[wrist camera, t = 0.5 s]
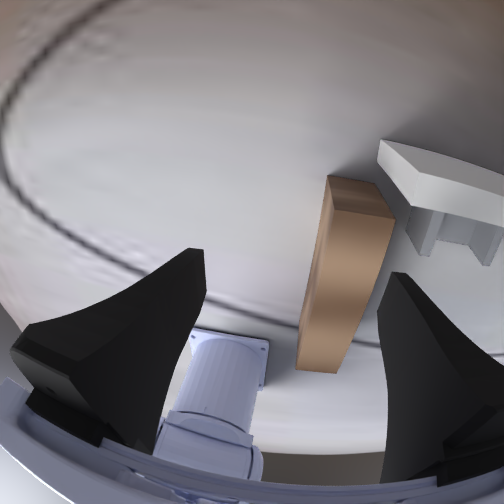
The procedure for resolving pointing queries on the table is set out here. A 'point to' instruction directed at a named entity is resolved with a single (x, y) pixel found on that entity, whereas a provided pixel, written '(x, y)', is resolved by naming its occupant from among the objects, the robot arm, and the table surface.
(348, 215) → the rail
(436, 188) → the bracket
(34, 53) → the table surface
